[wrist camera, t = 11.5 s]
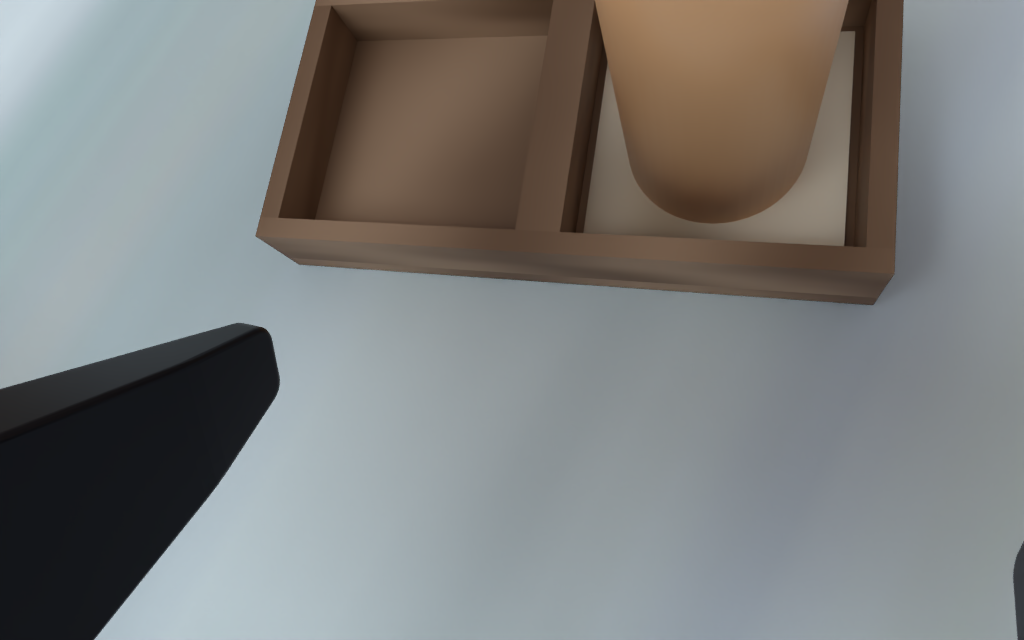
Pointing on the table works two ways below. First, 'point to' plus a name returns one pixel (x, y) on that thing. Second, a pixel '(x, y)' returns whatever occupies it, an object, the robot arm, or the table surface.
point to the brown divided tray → (559, 159)
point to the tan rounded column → (718, 97)
